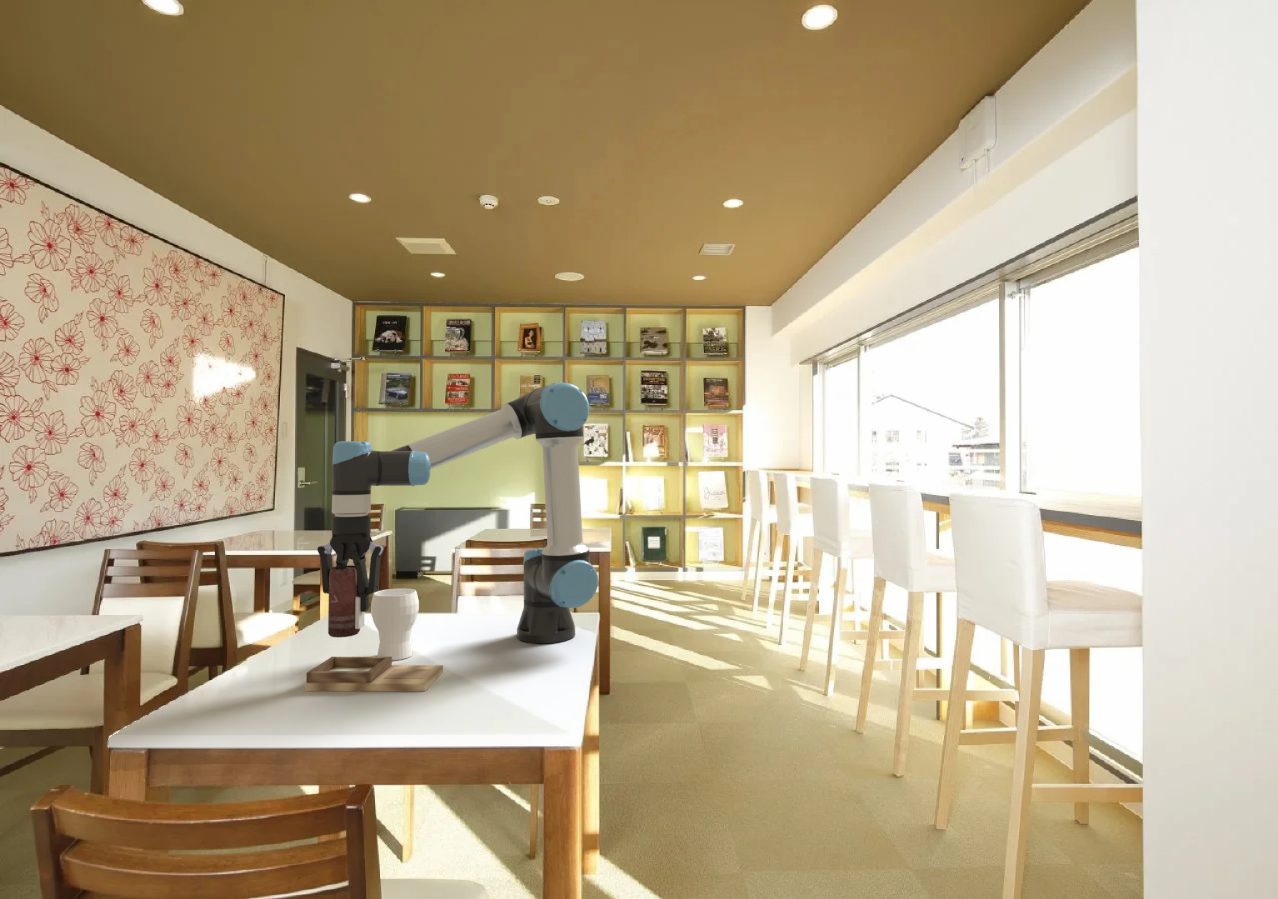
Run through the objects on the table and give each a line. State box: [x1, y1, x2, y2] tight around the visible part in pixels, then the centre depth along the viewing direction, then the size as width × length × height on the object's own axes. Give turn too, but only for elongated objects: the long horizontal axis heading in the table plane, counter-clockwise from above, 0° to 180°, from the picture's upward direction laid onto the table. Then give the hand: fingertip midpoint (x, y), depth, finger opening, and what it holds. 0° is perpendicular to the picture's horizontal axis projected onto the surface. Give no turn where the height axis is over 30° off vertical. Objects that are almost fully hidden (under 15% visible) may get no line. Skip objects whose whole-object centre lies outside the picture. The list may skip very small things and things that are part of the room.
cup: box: [370, 588, 420, 661], centre depth 158 cm, size 11×11×15 cm
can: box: [327, 565, 361, 638], centre depth 140 cm, size 6×6×14 cm
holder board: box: [304, 656, 444, 692], centre depth 140 cm, size 24×12×4 cm, turn 89°
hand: (350, 627), depth 140 cm, fingers open, 3 cm apart
